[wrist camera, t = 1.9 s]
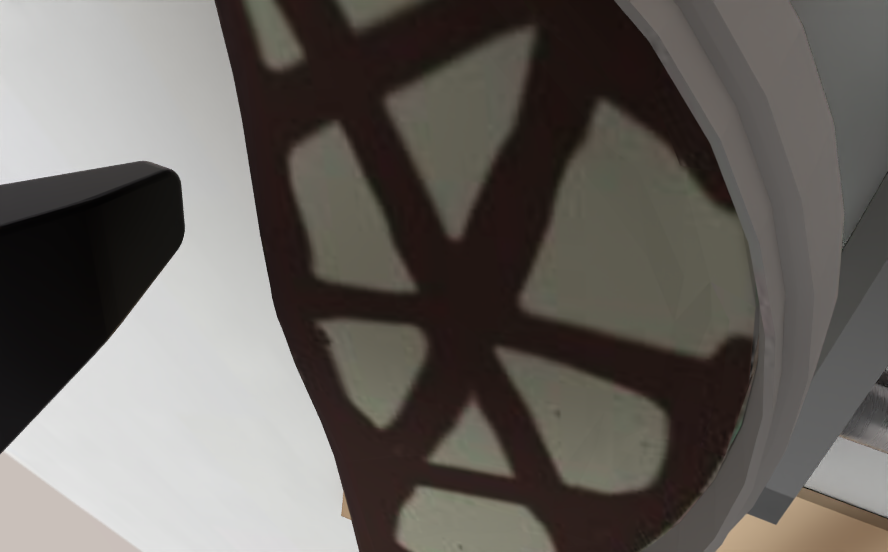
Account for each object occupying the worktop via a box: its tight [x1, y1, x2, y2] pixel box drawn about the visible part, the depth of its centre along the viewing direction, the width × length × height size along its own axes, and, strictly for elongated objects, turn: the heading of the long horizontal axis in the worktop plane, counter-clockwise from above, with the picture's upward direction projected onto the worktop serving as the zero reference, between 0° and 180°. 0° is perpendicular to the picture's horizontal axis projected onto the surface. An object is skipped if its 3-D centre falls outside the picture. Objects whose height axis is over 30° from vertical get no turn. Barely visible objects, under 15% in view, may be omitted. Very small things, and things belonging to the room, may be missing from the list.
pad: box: [341, 487, 888, 552], centre depth 23 cm, size 15×9×1 cm, turn 81°
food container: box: [215, 0, 845, 552], centre depth 11 cm, size 12×6×10 cm, turn 7°
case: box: [747, 173, 888, 525], centre depth 14 cm, size 12×17×2 cm
